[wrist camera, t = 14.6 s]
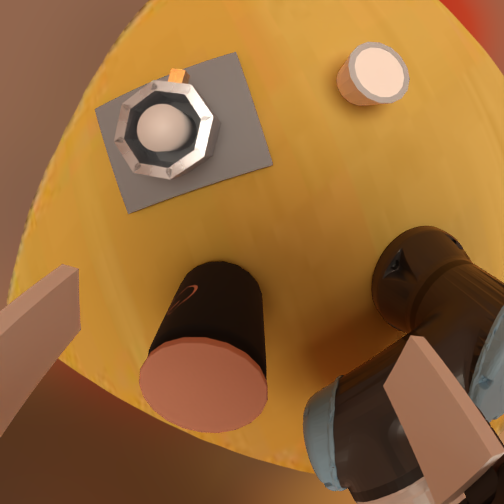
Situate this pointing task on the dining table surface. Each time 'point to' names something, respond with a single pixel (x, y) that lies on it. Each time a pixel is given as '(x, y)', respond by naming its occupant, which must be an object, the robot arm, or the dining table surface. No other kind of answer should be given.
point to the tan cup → (373, 75)
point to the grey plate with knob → (190, 135)
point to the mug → (166, 93)
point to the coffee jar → (209, 352)
